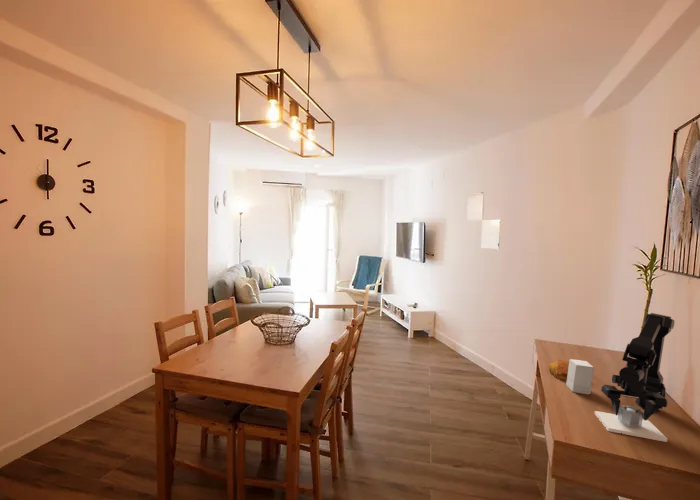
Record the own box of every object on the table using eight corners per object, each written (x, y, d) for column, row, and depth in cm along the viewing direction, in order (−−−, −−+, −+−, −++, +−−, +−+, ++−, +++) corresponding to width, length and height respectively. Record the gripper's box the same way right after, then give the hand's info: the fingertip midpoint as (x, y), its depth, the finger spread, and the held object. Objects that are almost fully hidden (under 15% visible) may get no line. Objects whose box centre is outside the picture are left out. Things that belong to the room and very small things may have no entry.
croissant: (551, 371, 184) (551, 356, 184) (587, 377, 174) (587, 361, 174) (545, 379, 173) (545, 363, 173) (583, 386, 163) (583, 369, 163)
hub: (634, 419, 134) (636, 407, 134) (644, 429, 128) (646, 416, 128) (615, 416, 136) (617, 403, 136) (623, 425, 130) (625, 412, 129)
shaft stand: (647, 423, 136) (650, 406, 135) (667, 442, 124) (670, 423, 124) (594, 413, 140) (596, 397, 140) (608, 431, 129) (610, 413, 128)
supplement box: (590, 395, 156) (594, 367, 155) (572, 392, 158) (575, 364, 156) (583, 387, 163) (587, 360, 162) (565, 384, 165) (569, 358, 163)
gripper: (653, 372, 136) (647, 411, 138) (598, 364, 140) (592, 401, 142) (671, 385, 125) (664, 427, 127) (611, 376, 130) (605, 416, 131)
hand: (630, 417), depth 132 cm, fingers open, 9 cm apart
